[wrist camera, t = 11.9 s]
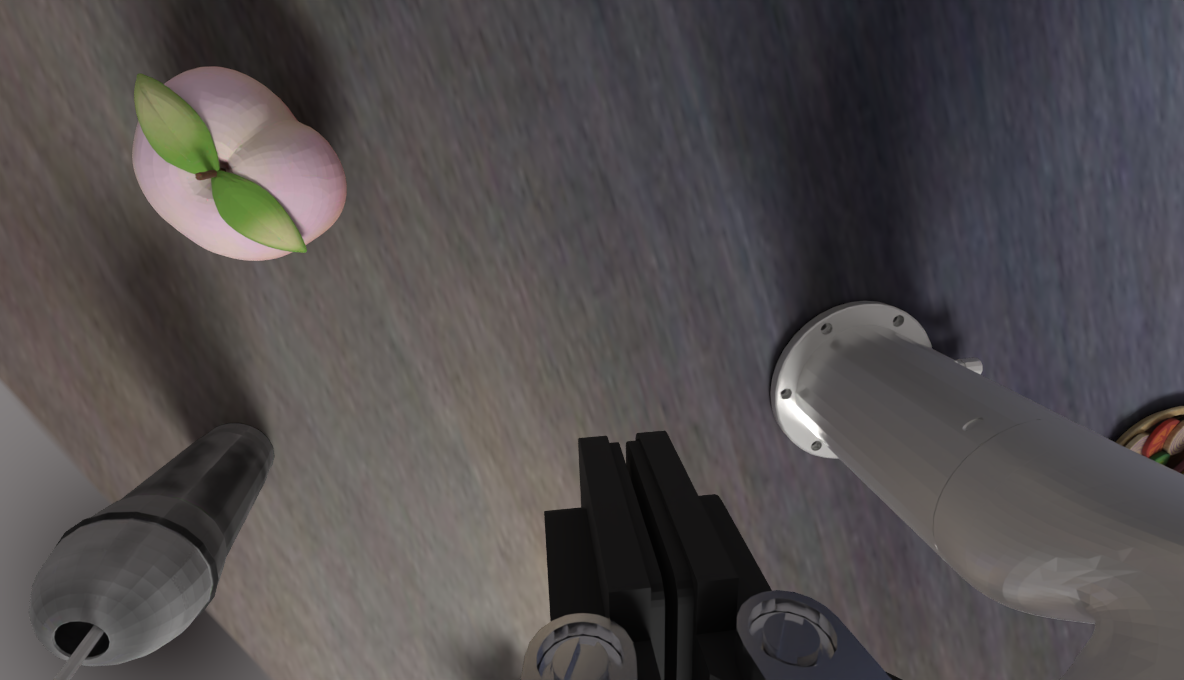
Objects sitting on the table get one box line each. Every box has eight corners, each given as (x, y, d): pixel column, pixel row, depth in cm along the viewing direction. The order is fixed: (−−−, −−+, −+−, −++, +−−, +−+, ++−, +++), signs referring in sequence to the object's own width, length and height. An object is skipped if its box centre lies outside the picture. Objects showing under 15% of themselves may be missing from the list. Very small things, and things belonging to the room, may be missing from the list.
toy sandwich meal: (1189, 372, 49) (1257, 395, 44) (1233, 465, 53) (1299, 495, 49) (1065, 465, 50) (1120, 497, 46) (1118, 548, 55) (1172, 585, 51)
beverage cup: (153, 432, 37) (-194, 729, 19) (254, 386, 37) (4, 637, 19) (223, 514, 40) (-21, 844, 21) (317, 471, 40) (154, 765, 21)
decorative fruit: (162, 160, 32) (23, 171, 23) (252, 49, 31) (144, 13, 22) (305, 273, 35) (234, 323, 26) (392, 176, 34) (350, 192, 25)
